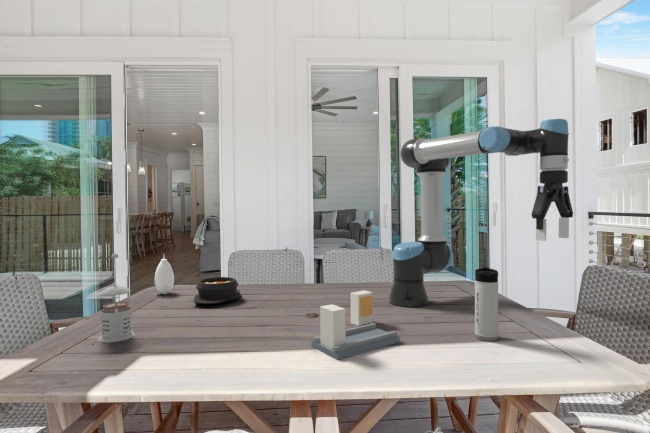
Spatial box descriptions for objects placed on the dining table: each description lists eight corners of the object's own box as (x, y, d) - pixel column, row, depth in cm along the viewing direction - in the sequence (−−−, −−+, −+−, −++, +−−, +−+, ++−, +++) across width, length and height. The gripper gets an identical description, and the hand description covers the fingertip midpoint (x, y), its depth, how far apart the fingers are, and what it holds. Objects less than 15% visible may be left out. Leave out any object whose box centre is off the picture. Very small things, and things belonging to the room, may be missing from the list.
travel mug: (496, 334, 117) (497, 267, 117) (498, 342, 111) (499, 271, 110) (474, 332, 119) (474, 266, 119) (475, 340, 113) (475, 270, 112)
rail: (311, 346, 109) (311, 304, 109) (371, 330, 122) (371, 293, 122) (337, 359, 100) (336, 314, 99) (399, 341, 112) (399, 301, 112)
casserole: (227, 309, 149) (226, 287, 149) (181, 307, 152) (180, 285, 152) (249, 294, 174) (249, 275, 174) (209, 293, 177) (209, 274, 176)
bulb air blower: (167, 290, 181) (166, 251, 181) (177, 293, 177) (176, 252, 176) (151, 294, 175) (150, 253, 174) (161, 296, 170) (160, 254, 170)
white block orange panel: (364, 319, 134) (364, 290, 134) (374, 323, 130) (374, 292, 130) (350, 322, 131) (350, 292, 130) (360, 326, 127) (359, 295, 126)
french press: (97, 344, 112) (94, 256, 112) (99, 332, 123) (96, 252, 122) (135, 338, 117) (133, 254, 116) (134, 327, 127) (132, 250, 126)
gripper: (544, 167, 112) (543, 242, 113) (585, 171, 126) (584, 237, 127) (519, 169, 118) (518, 240, 119) (561, 172, 132) (560, 236, 133)
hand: (552, 239), depth 123 cm, fingers open, 13 cm apart
